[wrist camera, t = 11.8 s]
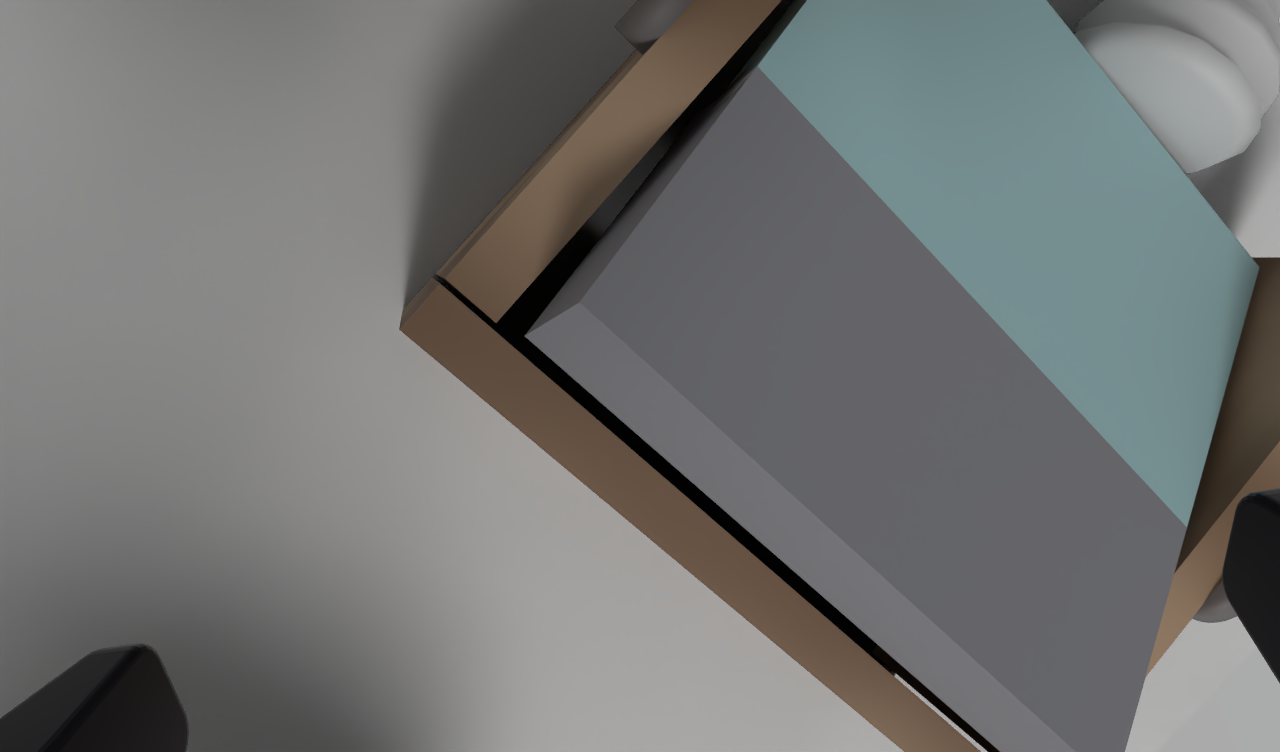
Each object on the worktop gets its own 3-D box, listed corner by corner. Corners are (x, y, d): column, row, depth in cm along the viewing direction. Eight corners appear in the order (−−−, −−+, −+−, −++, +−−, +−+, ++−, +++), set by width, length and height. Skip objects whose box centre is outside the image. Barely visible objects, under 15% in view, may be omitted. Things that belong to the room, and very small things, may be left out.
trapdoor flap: (1017, 767, 17) (1115, 787, 15) (524, 336, 13) (579, 302, 12) (1176, 290, 22) (1259, 267, 21) (855, -92, 19) (923, -155, 17)
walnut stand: (887, 719, 23) (1043, 869, 17) (379, 289, 18) (365, 302, 13) (1228, 299, 24) (1481, 311, 18) (819, -200, 19) (984, -385, 14)
